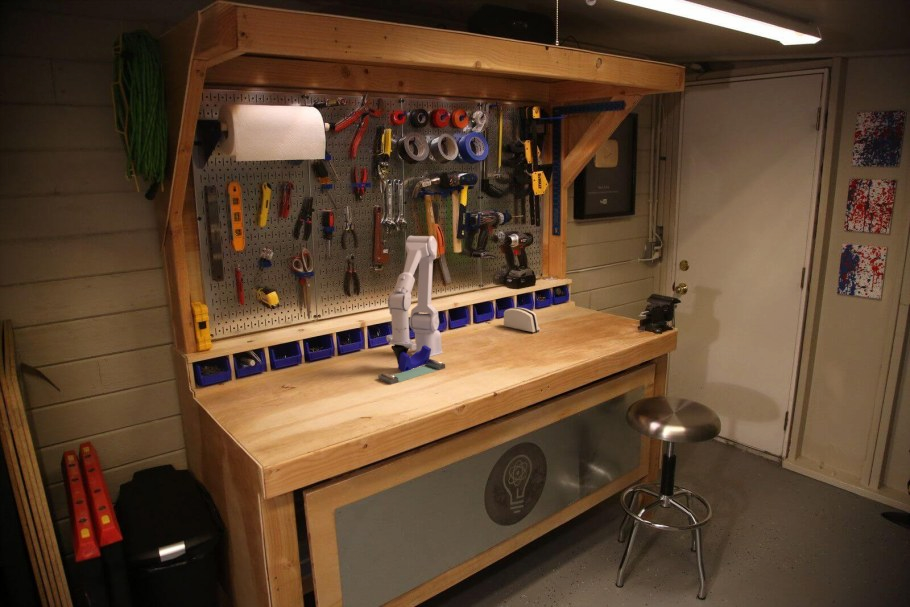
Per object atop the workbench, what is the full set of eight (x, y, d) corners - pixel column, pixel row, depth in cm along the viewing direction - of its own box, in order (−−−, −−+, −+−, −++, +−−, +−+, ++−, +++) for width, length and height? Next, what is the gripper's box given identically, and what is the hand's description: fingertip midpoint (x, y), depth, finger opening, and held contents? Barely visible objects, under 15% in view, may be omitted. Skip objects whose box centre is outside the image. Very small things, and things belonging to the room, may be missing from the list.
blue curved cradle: (419, 358, 219) (422, 343, 217) (428, 363, 216) (431, 348, 214) (394, 366, 210) (397, 351, 208) (403, 372, 208) (406, 356, 205)
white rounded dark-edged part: (541, 332, 254) (539, 309, 251) (533, 335, 251) (532, 312, 248) (510, 325, 266) (508, 303, 263) (503, 329, 263) (501, 306, 260)
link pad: (424, 366, 213) (424, 365, 213) (437, 370, 208) (437, 370, 208) (387, 376, 203) (387, 376, 203) (399, 381, 198) (399, 381, 198)
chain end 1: (385, 377, 203) (385, 370, 202) (398, 382, 198) (398, 375, 197) (378, 379, 201) (378, 372, 200) (390, 384, 196) (390, 377, 195)
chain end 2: (432, 363, 216) (431, 357, 215) (445, 368, 211) (444, 361, 210) (425, 365, 214) (425, 359, 213) (438, 370, 209) (438, 363, 208)
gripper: (378, 325, 210) (380, 362, 213) (403, 334, 199) (405, 373, 203) (395, 321, 214) (396, 358, 218) (420, 329, 204) (422, 368, 207)
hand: (402, 365), depth 211 cm, fingers closed, pressing on blue curved cradle
